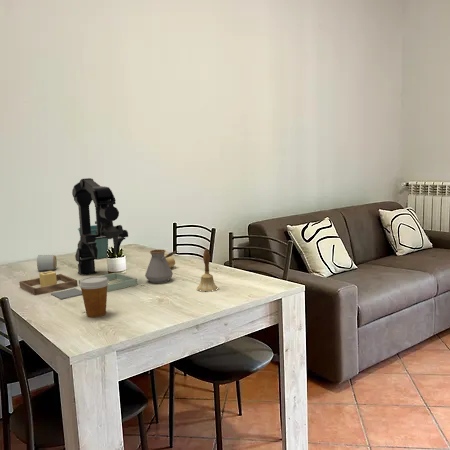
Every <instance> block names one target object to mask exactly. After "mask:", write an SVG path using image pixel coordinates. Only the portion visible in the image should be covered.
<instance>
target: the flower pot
mask: <svg viewBox="0 0 450 450" xmlns="http://www.w3.org/2000/svg"><path fill="white" fill-rule="evenodd" d="M77 230H78V232H79V238H80V237H81V234H80V227H78V228H77ZM96 231H97V224H93V225H92V224H91V234H94V235H97V234H96ZM95 242H96V243H97V244H96V247H97V249H98V253H97V259H96V260H100V259H102V258H103V259H105V258H107V257H108V256H107V250H108V251H109V239H107V238H102V239H96V240H95Z"/></svg>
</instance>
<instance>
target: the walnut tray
mask: <svg viewBox="0 0 450 450" xmlns="http://www.w3.org/2000/svg"><path fill="white" fill-rule="evenodd" d="M56 280H57V281H60V282H59V283H57V284H54V285H49V286H44V287H34V286H37V285H40V277H37V278H31V279H26V280H22V281H19V289H22V290H24V291H26V292H27V293H30V294H31V295H34V296H37V295H43V294H47V293H54V292H58V291H63V290H65V289H66V290H68V289H73V288H77V287H78V286H79V282H78V280H77V279H76V278H72V277H70V276H66V275H65V274H62V273H58V274H57V273H56ZM61 281H62V282H61Z"/></svg>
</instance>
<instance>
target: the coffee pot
mask: <svg viewBox="0 0 450 450" xmlns="http://www.w3.org/2000/svg"><path fill="white" fill-rule="evenodd" d="M149 253H150V255H151V258H150V260H149V263H148V266H147V269H146V271H145V275H144V276H145V278H146V279H147V281H149V282H150V283H152V284H163V283H168V282H169V281H170V280H171V279H172V278H173V275H174V273H173V271H172V268H170V266H169V264H168V262H167V260H166V258H167V257H170V256H172V257H173V256H176V257H178V256H179V254H180V251H178V250H174V251H172V252H170V253H167V254H168V255H166V256H164V254H166V250H165V249H153V250H150V251H149ZM177 253H178V255H176V254H177Z"/></svg>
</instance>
